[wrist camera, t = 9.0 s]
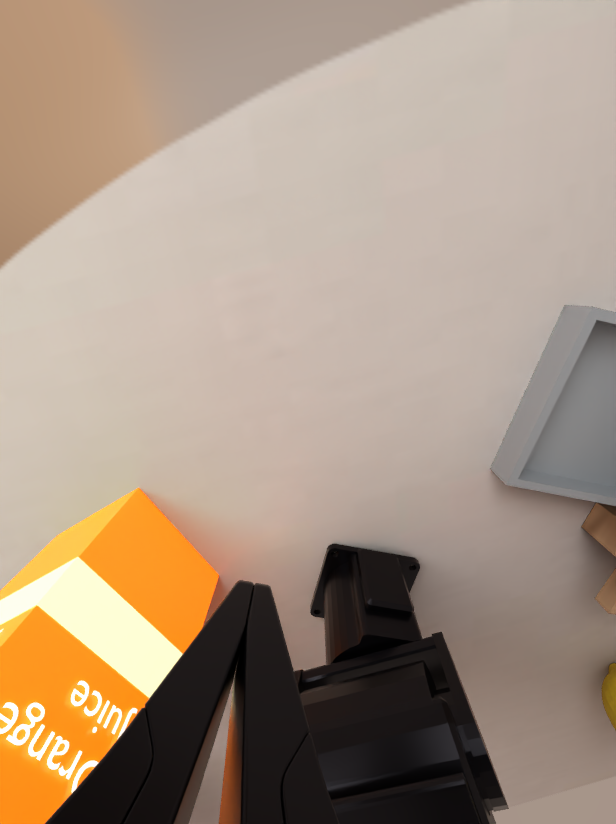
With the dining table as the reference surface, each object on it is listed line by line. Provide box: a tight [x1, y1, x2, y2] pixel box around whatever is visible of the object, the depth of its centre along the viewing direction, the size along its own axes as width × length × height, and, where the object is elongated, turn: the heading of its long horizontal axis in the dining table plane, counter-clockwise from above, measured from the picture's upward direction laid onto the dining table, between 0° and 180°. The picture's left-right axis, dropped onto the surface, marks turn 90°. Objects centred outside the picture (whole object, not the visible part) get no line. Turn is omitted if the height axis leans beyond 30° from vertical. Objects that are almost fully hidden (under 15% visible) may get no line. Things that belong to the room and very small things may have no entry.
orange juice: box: [0, 488, 219, 824], centre depth 14 cm, size 8×9×20 cm
